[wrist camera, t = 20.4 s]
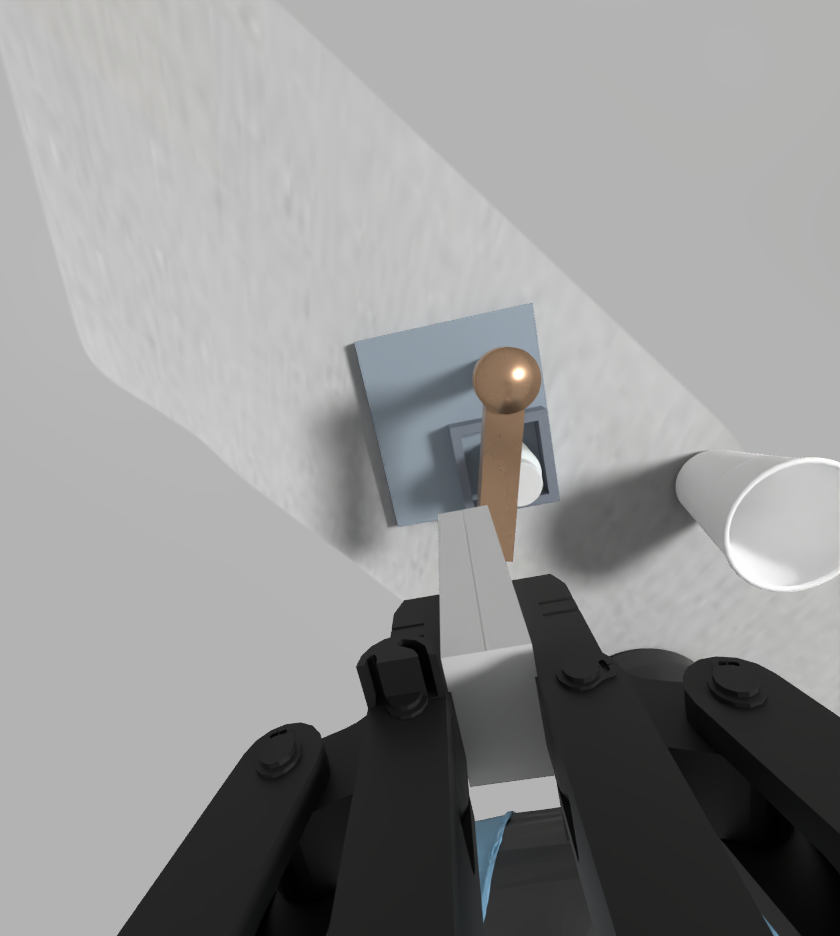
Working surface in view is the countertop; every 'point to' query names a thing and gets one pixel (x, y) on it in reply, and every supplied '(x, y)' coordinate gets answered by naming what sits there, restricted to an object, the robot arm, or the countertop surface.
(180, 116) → the countertop surface
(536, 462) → the pill bottle
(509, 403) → the lever
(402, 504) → the board
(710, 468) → the cup
